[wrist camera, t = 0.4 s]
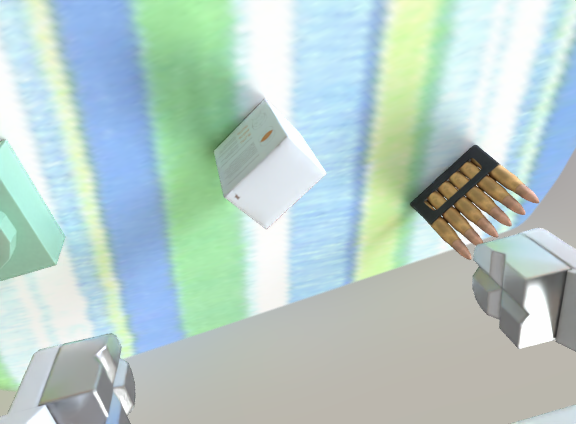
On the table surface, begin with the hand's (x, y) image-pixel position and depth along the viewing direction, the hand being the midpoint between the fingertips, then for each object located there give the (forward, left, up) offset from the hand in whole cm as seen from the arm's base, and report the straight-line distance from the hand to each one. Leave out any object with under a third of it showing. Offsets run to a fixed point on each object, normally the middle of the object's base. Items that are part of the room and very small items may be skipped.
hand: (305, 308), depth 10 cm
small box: (+13, +2, -38) cm, 40 cm away
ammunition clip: (+25, +24, -38) cm, 51 cm away
